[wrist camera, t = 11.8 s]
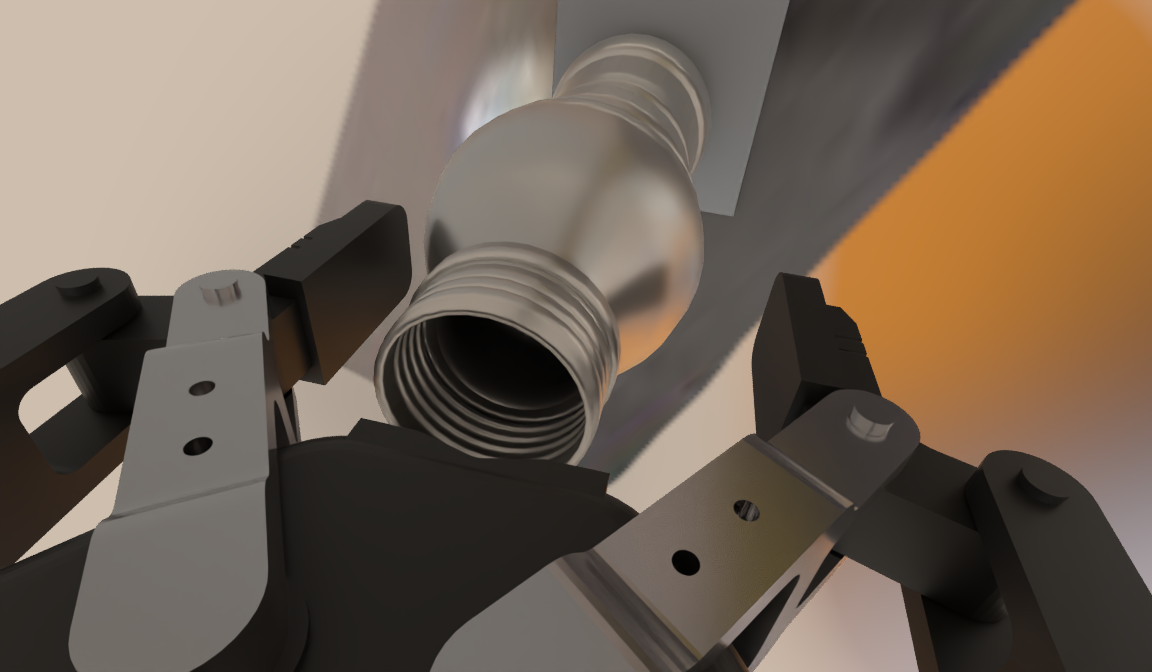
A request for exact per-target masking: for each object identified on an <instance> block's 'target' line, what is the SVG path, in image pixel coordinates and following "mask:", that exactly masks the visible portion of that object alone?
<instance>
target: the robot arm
mask: <svg viewBox="0 0 1152 672" xmlns="http://www.w3.org/2000/svg"><path fill="white" fill-rule="evenodd" d="M411 278H412V266H411V255H410V244H409V233H408V223H407V215H406V212H405V210H404V208H403V207H402V206H400V205H394V204H388V203H383V202H377V201H371V200H366V201H364V202H362V203H361V204H360V205H358V206H357V207H355V208H354V209H353V210H351V211H350V212H349V213H347V214H346V215H344V216H343V217H342V218H339V219H336V220H333V221H330V222H328V223H325V224H322V225H319V226H318V227H316V228H315V229H314V230H312V231H311V232H309V233H308V234H306V235H305V236H304V239H302V238H301V239H299V240H298V241H297V242H295V243H294V244H292V245H291V248H289V247H288V248H286V249H285V250H284V251H282V252H281V253H279V254H278V255H276V256H275V257H274V258H272V259H271V260H269V261H268V262H266V263H265V264H264V265H262V266H261V267H259V268H258V269H256V270H255V271H254V272H250V271H245V270H221V271H215V272H210V273H206V274H203V275H200V276H198V277H195V278H192V279H191V280H189V281H187V282H185V283H184V284H182V285H181V286H180V287H179V288H178V289H177V290H176V292H175V294H174V296H138V295H137V293H136V290H135V288H134V286H133V283H132V281H131V279H130V276H129V275H128V274H127V273H125V272H124V271H121V270H117V269H112V268H89V269H82V270H76V271H71V272H67V273H64V274H61V275H57V276H55V277H52V278H50V279H48V280H46V281H43V282H42V283H40V284H38V285H36V286H34V287H32V288H30V289H29V290H27V291H25V292H23V293H21V294H19V295H18V296H16V297H14V298H12V299H10V300H8V301H6V302H4V303H3V304H1V305H0V672H753V671H754V670H755V669H756V667H757V666H758V665H759V664H760V662H761V661H762V660H763V659H764V657H765V656H766V655H767V654H768V652H769V651H770V649H771V648H772V647H773V645H774V644H775V643H776V641H777V640H778V638H779V637H780V635H781V634H782V633H783V632H784V630H785V629H786V628H787V626H788V625H789V624H790V623H791V622H792V620H793V619H794V618H795V617H796V616H797V615H798V614H799V612H800V611H801V610H802V609H803V608H804V607H805V606H806V605H807V603H808V602H809V601H810V600H811V599H812V598H813V597H814V595H815V594H816V593H817V592H818V591H819V590H820V588H821V587H822V586H823V585H824V584H825V583H826V582H827V581H828V580H829V578H830V577H831V576H832V575H833V574H834V573H835V571H836V570H837V569H838V568H839V567H840V566H841V565H842V564H843V563H844V561H845V560H846V559H847V558H850V559H852V560H854V561H856V562H858V563H860V564H862V565H864V566H866V567H868V568H870V569H872V570H875V571H876V572H878V573H880V574H882V575H884V576H886V577H888V578H890V579H892V580H894V581H896V582H898V583H900V584H901V589H902V593H903V598H904V603H905V608H906V613H907V617H908V622H909V627H910V632H911V636H912V641H913V645H914V651H915V655H916V660H917V665H918V669H919V672H1152V595H1151V593H1150V591H1149V590H1148V588H1147V586H1146V584H1145V583H1144V581H1143V579H1142V578H1141V576H1140V574H1139V573H1138V571H1137V569H1136V568H1135V566H1134V564H1133V563H1132V561H1131V559H1130V558H1129V556H1128V554H1127V553H1126V551H1125V549H1124V547H1123V546H1122V544H1121V542H1120V541H1119V539H1118V537H1117V536H1116V534H1115V532H1114V531H1113V529H1112V527H1111V526H1110V524H1109V522H1108V521H1107V519H1106V517H1105V516H1104V514H1103V512H1102V510H1101V509H1100V507H1099V505H1098V504H1097V502H1096V501H1095V499H1094V498H1093V496H1092V495H1091V494H1090V493H1089V492H1088V490H1087V489H1086V488H1084V486H1083V485H1081V484H1080V483H1079V482H1078V481H1077V480H1076V479H1074V478H1073V477H1072V476H1070V475H1069V474H1068V473H1066V472H1065V471H1063V470H1061V469H1060V468H1058V467H1056V466H1055V465H1053V464H1051V463H1049V462H1047V461H1045V460H1043V459H1040V458H1038V457H1035V456H1032V455H1029V454H1026V453H1022V452H1017V451H1009V450H1000V451H995V452H992V453H990V454H988V455H987V456H986V457H985V459H984V460H983V461H982V462H981V464H980V465H979V467H978V468H977V467H974V466H972V465H970V464H967V463H965V462H962V461H960V460H957V459H955V458H953V457H950V456H947V455H945V454H943V453H940V452H938V451H936V450H934V449H931V448H929V447H927V446H925V445H924V444H922V443H920V432H919V429H918V427H917V425H916V423H915V422H914V420H913V419H912V418H911V417H910V416H909V415H908V414H907V413H906V412H905V411H904V410H903V409H901V408H900V407H899V406H897V405H896V404H894V403H893V402H891V401H889V400H887V399H885V398H883V397H882V396H881V393H880V390H879V387H878V384H877V381H876V378H875V375H874V373H873V370H872V367H871V364H870V362H869V358H868V357H866V354H867V353H866V350H865V347H864V344H863V343H861V342H862V338H861V335H860V333H859V330H858V327H857V324H856V323H855V322H854V321H853V320H852V319H851V318H850V317H849V316H848V315H847V314H846V313H845V312H844V310H842V308H840V307H836V306H830V305H826V302H825V299H824V295H823V292H822V288H821V285H820V282H819V280H818V279H817V278H811V277H805V276H799V275H794V274H788V273H782V272H780V273H779V274H778V275H777V277H776V279H775V281H774V284H773V287H772V290H771V293H770V296H769V299H768V302H767V305H766V308H765V311H764V314H763V317H762V320H761V323H760V326H759V329H758V332H757V335H756V339H755V343H754V347H753V353H752V377H753V393H754V407H755V421H756V434H750V435H748V436H746V437H745V438H743V439H742V440H740V441H739V442H737V443H736V444H735V445H733V446H732V447H730V448H729V449H728V450H727V451H725V452H724V453H722V454H721V455H720V456H718V457H717V458H715V459H714V460H713V461H711V462H710V463H709V464H707V465H706V466H704V467H703V468H702V469H700V470H699V471H698V472H696V473H695V474H694V475H692V476H691V477H690V478H688V479H687V480H685V481H684V482H683V483H681V484H680V485H679V486H677V487H676V488H674V489H673V490H672V491H670V492H669V493H668V494H666V495H665V496H664V497H662V498H661V499H659V500H658V501H657V502H655V503H654V504H653V505H651V506H650V507H648V508H647V509H646V510H644V511H643V512H642V513H640V514H639V513H638V512H637V511H635V510H634V509H633V508H632V507H630V506H628V505H627V504H625V503H623V502H622V501H620V500H619V499H617V498H615V497H613V496H611V495H608V494H607V493H606V492H607V486H608V481H609V475H610V473H605V472H601V471H596V470H592V469H587V468H583V467H578V466H574V465H569V464H565V463H560V462H556V461H551V460H547V459H505V458H478V457H473V456H471V455H469V454H466V453H464V452H462V451H460V450H458V449H456V448H454V447H452V446H450V445H448V444H446V443H443V442H441V441H439V440H437V439H435V438H433V437H431V436H429V435H427V434H425V433H423V432H420V431H417V430H413V429H408V428H404V427H399V426H395V425H390V424H385V423H381V422H377V421H372V420H367V419H363V418H361V419H360V420H359V421H358V423H357V424H356V425H355V426H354V428H353V429H352V430H351V432H350V433H349V434H348V436H332V437H322V438H317V439H310V440H306V441H302V442H301V435H300V427H299V418H298V410H297V401H296V396H295V392H294V388H293V385H294V384H295V383H296V382H297V381H298V380H303V381H307V382H312V383H317V384H321V385H326V384H327V382H328V381H329V380H330V379H331V378H332V377H333V376H334V375H335V374H336V372H337V371H338V370H339V369H340V368H341V367H342V366H343V365H344V364H345V363H346V361H347V360H348V359H349V358H350V357H351V356H352V355H353V354H354V353H355V351H356V350H357V349H358V348H359V347H360V346H361V345H362V344H363V343H364V341H365V340H366V339H367V338H368V337H369V336H370V335H371V334H372V333H373V331H374V330H375V329H376V328H377V327H378V326H379V325H380V324H381V323H382V321H383V320H384V319H385V318H386V317H387V316H388V315H389V314H390V313H391V311H392V310H393V309H394V308H395V307H396V306H397V305H398V304H399V303H400V301H401V300H402V299H403V298H404V297H405V296H406V294H407V292H408V290H409V287H410V283H411ZM64 365H66V366H67V368H68V370H69V372H70V373H71V375H72V377H73V379H74V380H75V382H76V384H77V386H78V387H79V389H80V391H81V393H82V394H81V395H80V396H79V397H78V398H76V399H75V400H74V401H72V402H71V403H70V404H68V405H67V406H66V407H64V408H63V409H62V410H60V411H59V412H58V413H57V414H55V415H54V416H53V417H51V418H50V419H49V420H48V421H46V422H45V423H43V424H42V425H41V426H39V427H38V428H37V429H36V430H34V431H33V432H32V433H30V434H29V433H28V432H27V431H26V429H25V427H24V426H23V425H22V423H21V421H20V419H19V416H18V410H19V405H20V402H21V400H22V398H23V397H24V395H25V394H26V393H27V392H28V391H29V390H30V389H31V388H32V387H33V386H35V385H37V384H38V383H40V382H41V381H42V380H44V379H45V378H47V377H48V376H50V375H51V374H52V373H54V372H56V371H57V370H58V369H60V368H61V367H63V366H64ZM122 462H123V465H122V470H121V475H120V480H119V485H118V490H117V495H116V500H115V505H114V509H113V511H112V513H111V515H110V516H109V517H108V518H106V519H104V520H102V521H101V522H100V523H99V524H98V525H97V526H96V528H95V529H92V530H90V531H88V532H85V533H84V534H81V535H79V536H76V537H74V538H72V539H69V540H67V541H65V542H63V543H61V544H58V545H56V546H53V547H51V548H49V549H47V550H44V551H42V552H40V553H38V554H35V555H33V556H30V557H28V558H26V559H23V560H21V561H19V562H17V563H15V562H16V561H17V560H18V559H19V558H20V557H21V556H23V555H24V554H25V553H26V552H27V551H28V550H29V549H30V548H31V547H32V546H33V545H34V544H35V543H36V542H37V541H38V540H40V539H41V538H42V537H43V536H44V535H45V534H46V533H47V532H48V531H49V530H50V529H51V528H52V527H53V526H55V524H56V523H58V522H59V521H60V520H61V519H62V518H63V517H64V516H65V515H66V514H67V513H68V512H69V511H70V510H72V509H73V508H74V507H75V506H76V505H77V504H78V503H79V502H80V501H81V500H82V499H83V498H84V497H85V496H86V495H88V494H89V492H90V491H92V490H93V489H94V488H95V487H96V486H97V485H98V484H99V483H100V482H101V481H102V480H104V478H106V477H107V476H108V475H109V474H110V473H111V472H112V471H113V470H114V469H115V468H116V467H117V466H118V465H119V464H120V463H122Z"/></svg>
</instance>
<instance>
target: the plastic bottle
mask: <svg viewBox="0 0 1152 672" xmlns="http://www.w3.org/2000/svg"><path fill="white" fill-rule="evenodd" d="M710 131H711V105H710V99H709V93H708V90H707V88H706V85H705V83H704V80H703V78H702V76H701V74H700V72H699V71H698V69H697V68H696V66H695V65H694V63H693V62H692V61H691V60H690V59H689V58H688V57H687V56H686V55H685V54H684V53H683V52H682V51H681V50H680V49H678V48H677V47H675V46H674V45H672V44H670V43H669V42H667V41H665V40H663V39H660V38H657V37H654V36H651V35H644V34H633V33H631V34H623V35H616V36H613V37H610V38H607V39H605V40H602V41H599V42H597V43H596V44H594V45H593V46H591V47H590V48H588V49H587V50H585V51H584V52H583V53H582V54H580V55H579V56H578V57H577V58H576V59H575V60H574V61H573V62H572V63H571V65H570V66H569V68H568V69H567V71H566V72H565V74H564V75H563V76H562V78H561V80H560V82H559V84H558V86H557V88H556V91H555V93H554V95H553V97H552V98H551V99H546V100H540V101H535V102H533V103H530V104H527V105H524V106H521V107H518V108H516V109H513V110H510V111H509V112H507V113H505V114H502V115H500V116H498V117H496V118H495V119H493V120H491V121H490V122H488V123H487V124H485V125H484V126H482V127H480V128H479V129H477V130H476V131H474V132H473V133H472V134H471V135H470V136H469V137H468V138H467V139H466V140H465V141H464V142H463V143H462V144H461V145H460V146H459V147H458V149H457V150H456V151H455V152H454V154H453V155H452V157H451V158H450V160H449V162H448V163H447V165H446V167H445V168H444V170H443V171H442V173H441V176H440V178H439V181H438V184H437V187H436V190H435V193H434V196H433V199H432V202H431V205H430V208H429V211H428V214H427V217H426V225H425V233H424V254H425V265H426V270H427V274H428V276H427V277H426V278H425V279H424V280H423V281H422V283H421V284H420V286H419V287H418V289H417V290H416V292H415V293H414V295H413V297H412V299H411V302H410V305H409V307H408V308H407V309H406V311H405V312H404V313H403V314H402V315H401V316H400V317H399V319H398V320H397V321H396V322H395V323H394V325H393V326H392V328H391V329H390V330H389V332H388V333H387V335H386V336H385V338H384V341H383V343H382V345H381V346H380V349H379V352H378V355H377V357H376V360H375V366H374V386H375V392H376V397H377V400H378V402H379V405H380V408H381V411H382V413H383V415H384V417H385V418H386V420H387V422H388V423H389V424H390V425H395V426H399V427H404V428H408V429H413V430H417V431H420V432H423V433H425V434H427V435H429V436H431V437H433V438H435V439H437V440H439V441H441V442H443V443H446V444H448V445H450V446H452V447H454V448H456V449H458V450H460V451H462V452H464V453H466V454H469V455H471V456H473V457H478V458H505V459H547V460H551V461H556V462H560V463H565V464H569V465H574V466H576V465H577V464H578V463H579V462H580V460H581V459H582V458H583V456H584V455H585V454H586V452H587V449H588V447H589V446H590V445H591V442H592V440H593V438H594V435H595V433H596V430H597V427H598V423H599V419H600V415H601V411H602V407H603V406H604V405H605V403H606V402H607V400H608V399H609V396H610V394H611V392H612V389H613V387H614V384H615V381H616V377H617V375H618V374H620V373H623V372H625V371H626V370H628V369H630V368H632V367H633V366H635V365H637V364H639V363H641V362H642V361H644V360H645V359H646V358H647V357H648V356H649V355H651V354H652V353H653V352H654V351H655V350H656V349H658V348H659V347H660V346H661V345H662V343H663V342H664V341H665V339H666V338H667V337H668V335H669V334H670V333H671V331H672V330H673V329H674V327H675V326H676V325H677V323H678V322H679V321H680V319H681V318H682V317H683V315H684V314H685V313H686V311H687V309H688V307H689V305H690V303H691V301H692V299H693V297H694V295H695V292H696V290H697V288H698V284H699V279H700V275H701V271H702V267H703V255H704V233H703V226H702V218H701V213H700V208H699V203H698V198H697V193H696V191H695V189H694V186H693V183H692V180H691V176H692V175H693V173H694V172H695V170H696V169H697V167H698V165H699V163H700V161H701V159H702V157H703V155H704V152H705V150H706V147H707V145H708V140H709V135H710Z"/></svg>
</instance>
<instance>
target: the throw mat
mask: <svg viewBox="0 0 1152 672" xmlns="http://www.w3.org/2000/svg"><path fill="white" fill-rule="evenodd" d="M789 1H790V0H558V5H557V22H556V39H555V56H554V73H553V90H552V97H553V95H554V93H555V91H556V88H557V86H558V84H559V82H560V80H561V78H562V76H563V75H564V74H565V72H566V71H567V69H568V68H569V66H570V65H571V63H572V62H573V61H574V60H575V59H576V58H577V57H578V56H579V55H580V54H582V53H583V52H584V51H585V50H587V49H588V48H590V47H591V46H593V45H594V44H596V43H597V42H599V41H602V40H605V39H607V38H610V37H613V36H616V35H623V34H631V33H633V34H644V35H651V36H654V37H657V38H660V39H663V40H665V41H667V42H669V43H670V44H672V45H674V46H675V47H677V48H678V49H680V50H681V51H682V52H683V53H684V54H685V55H686V56H687V57H688V58H689V59H690V60H691V61H692V62H693V63H694V65H695V66H696V68H697V69H698V71H699V72H700V74H701V76H702V78H703V80H704V83H705V85H706V88H707V90H708V93H709V99H710V105H711V131H710V135H709V140H708V145H707V147H706V150H705V152H704V155H703V157H702V159H701V161H700V163H699V165H698V167H697V169H696V170H695V172H694V173H693V175H692V176H691V180H692V183H693V186H694V189H695V191H696V193H697V198H698V203H699V208H700V211H703V212H710V213H716V214H722V215H728V216H733V215H734V211H735V207H736V204H737V200H738V196H739V192H740V188H741V184H742V181H743V177H744V173H745V169H746V165H747V162H748V158H749V154H750V150H751V146H752V142H753V139H754V135H755V131H756V127H757V123H758V119H759V116H760V112H761V108H762V104H763V100H764V96H765V93H766V89H767V85H768V81H769V77H770V73H771V70H772V66H773V62H774V58H775V54H776V51H777V47H778V43H779V39H780V35H781V31H782V28H783V24H784V20H785V16H786V12H787V8H788V5H789Z"/></svg>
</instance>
